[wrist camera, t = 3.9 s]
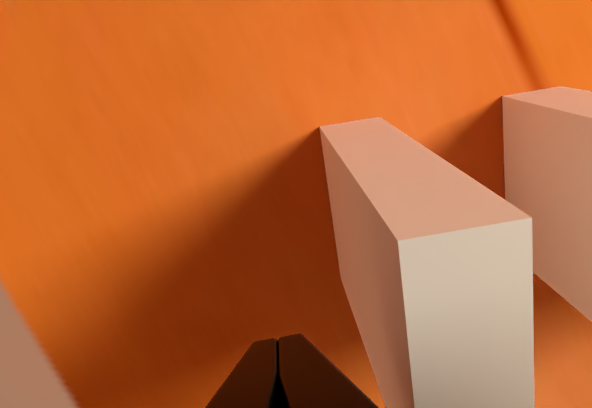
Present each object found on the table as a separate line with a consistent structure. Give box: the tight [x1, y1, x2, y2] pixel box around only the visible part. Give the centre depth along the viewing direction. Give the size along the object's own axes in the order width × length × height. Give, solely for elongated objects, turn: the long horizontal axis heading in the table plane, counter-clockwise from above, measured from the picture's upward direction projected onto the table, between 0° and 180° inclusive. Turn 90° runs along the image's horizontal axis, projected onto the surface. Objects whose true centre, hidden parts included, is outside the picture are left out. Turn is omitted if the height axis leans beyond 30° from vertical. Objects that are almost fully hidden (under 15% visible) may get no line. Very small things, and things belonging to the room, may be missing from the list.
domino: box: [319, 117, 535, 408], centre depth 12 cm, size 2×5×9 cm, turn 9°
